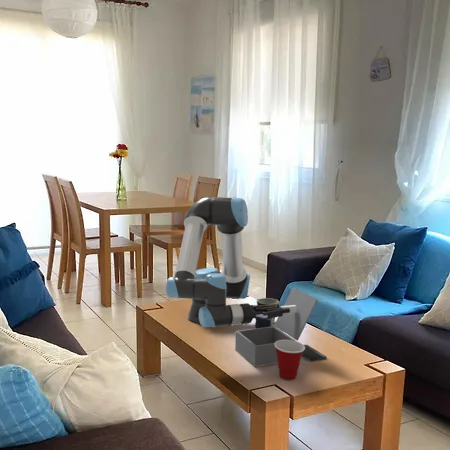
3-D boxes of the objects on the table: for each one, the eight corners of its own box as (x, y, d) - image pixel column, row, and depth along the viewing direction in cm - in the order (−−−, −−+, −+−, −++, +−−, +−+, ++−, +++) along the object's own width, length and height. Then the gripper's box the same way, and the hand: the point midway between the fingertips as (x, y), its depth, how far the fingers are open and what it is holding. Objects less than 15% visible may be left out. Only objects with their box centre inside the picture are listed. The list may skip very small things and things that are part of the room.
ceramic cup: (282, 323, 259) (283, 302, 257) (265, 327, 253) (265, 305, 252) (264, 315, 270) (265, 295, 268) (248, 319, 264) (248, 298, 262)
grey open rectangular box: (235, 350, 225) (235, 330, 223) (273, 345, 231) (274, 326, 230) (254, 367, 208) (255, 346, 207) (295, 361, 215) (296, 340, 213)
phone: (306, 344, 231) (327, 357, 217) (306, 346, 231) (327, 359, 217) (289, 346, 227) (310, 360, 214) (289, 349, 227) (310, 363, 214)
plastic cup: (296, 386, 193) (297, 352, 191) (267, 378, 198) (268, 346, 196) (309, 375, 202) (310, 343, 200) (281, 368, 207) (282, 337, 206)
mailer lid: (292, 287, 231) (294, 288, 231) (274, 325, 230) (275, 326, 230) (316, 299, 214) (318, 300, 214) (296, 340, 213) (298, 341, 214)
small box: (270, 344, 232) (270, 319, 231) (254, 342, 234) (254, 318, 232) (273, 335, 243) (273, 311, 241) (257, 334, 244) (258, 310, 242)
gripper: (233, 318, 219) (287, 313, 228) (246, 328, 207) (303, 322, 216) (233, 299, 218) (288, 295, 227) (247, 308, 206) (304, 303, 215)
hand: (295, 308), depth 221 cm, fingers closed
